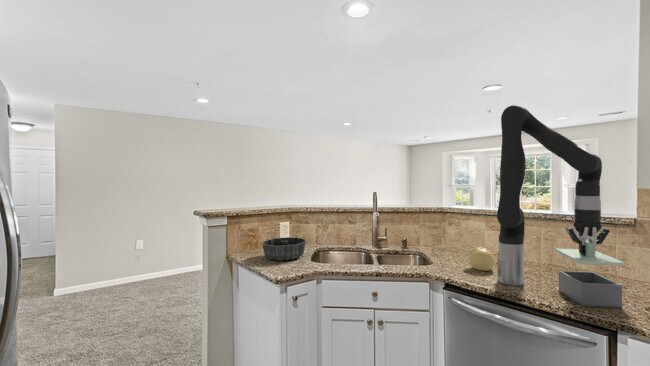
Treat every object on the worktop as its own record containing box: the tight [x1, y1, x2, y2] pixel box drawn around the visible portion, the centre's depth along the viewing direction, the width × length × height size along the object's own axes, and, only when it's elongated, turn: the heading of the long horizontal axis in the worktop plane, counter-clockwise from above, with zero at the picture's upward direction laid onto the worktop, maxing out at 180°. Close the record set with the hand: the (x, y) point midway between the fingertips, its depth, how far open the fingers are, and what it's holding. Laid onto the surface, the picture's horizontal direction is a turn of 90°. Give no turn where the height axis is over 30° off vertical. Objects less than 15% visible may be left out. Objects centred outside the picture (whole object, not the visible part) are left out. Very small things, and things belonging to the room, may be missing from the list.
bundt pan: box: [261, 236, 307, 261], centre depth 192 cm, size 26×26×10 cm
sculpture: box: [467, 246, 496, 272], centre depth 160 cm, size 12×12×11 cm
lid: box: [554, 239, 626, 267], centre depth 119 cm, size 13×17×7 cm
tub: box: [558, 270, 623, 309], centre depth 119 cm, size 12×16×8 cm
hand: (587, 254), depth 119 cm, fingers closed on lid
